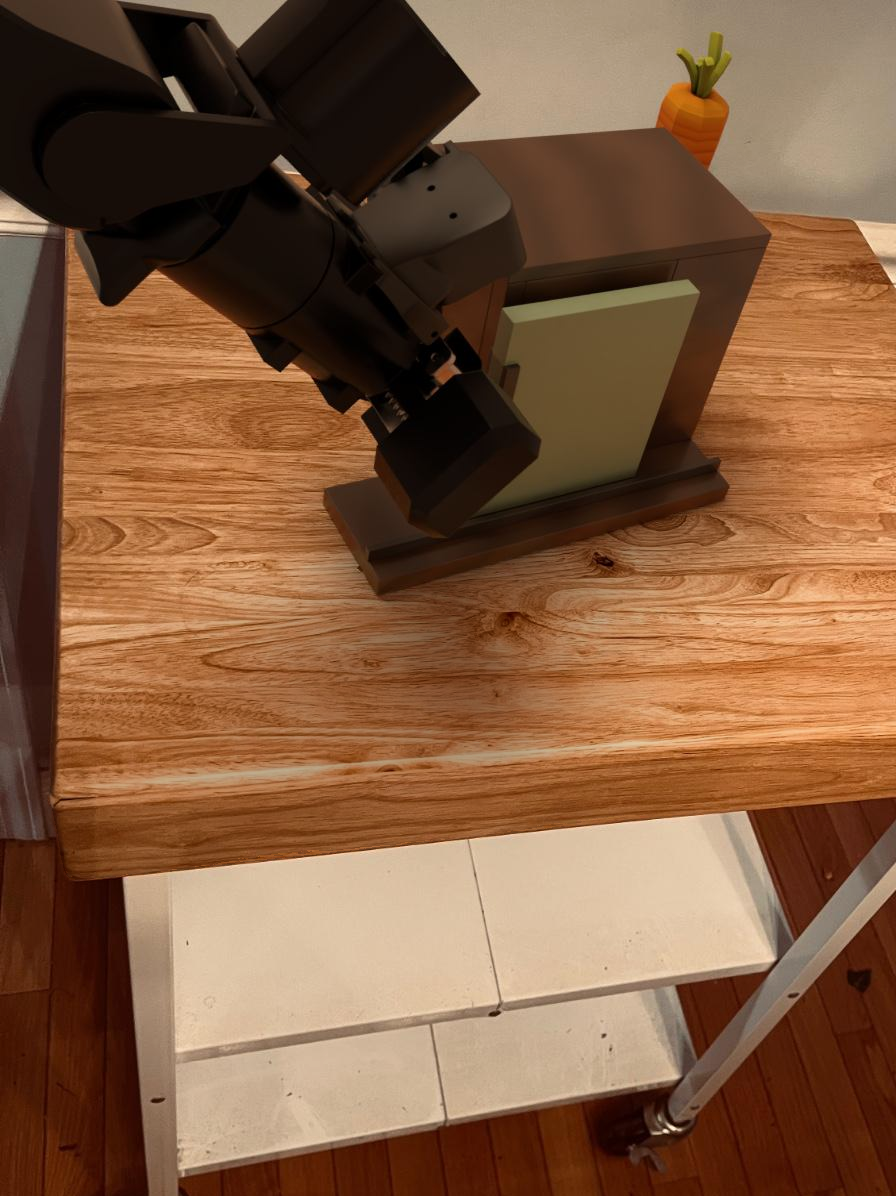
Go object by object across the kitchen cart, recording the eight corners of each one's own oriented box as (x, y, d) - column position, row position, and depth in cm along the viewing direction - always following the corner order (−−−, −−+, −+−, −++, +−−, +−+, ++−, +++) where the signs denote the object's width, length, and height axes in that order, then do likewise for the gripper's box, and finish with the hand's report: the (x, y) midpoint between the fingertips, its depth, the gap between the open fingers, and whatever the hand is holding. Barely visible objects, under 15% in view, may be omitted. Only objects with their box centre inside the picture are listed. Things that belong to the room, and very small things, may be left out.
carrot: (663, 260, 88) (726, 64, 77) (612, 227, 90) (667, 29, 79) (700, 240, 91) (765, 49, 81) (650, 208, 93) (708, 16, 82)
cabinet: (376, 596, 61) (414, 350, 49) (266, 408, 68) (277, 154, 56) (724, 499, 72) (821, 281, 61) (599, 347, 79) (664, 126, 68)
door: (472, 522, 64) (516, 327, 55) (456, 500, 65) (498, 303, 55) (637, 480, 70) (704, 295, 60) (621, 460, 70) (684, 275, 61)
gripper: (545, 259, 40) (704, 438, 54) (326, -3, 49) (509, 206, 63) (313, 475, 42) (522, 595, 56) (141, 184, 51) (358, 349, 65)
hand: (479, 422), depth 60 cm, fingers closed, pressing on door
